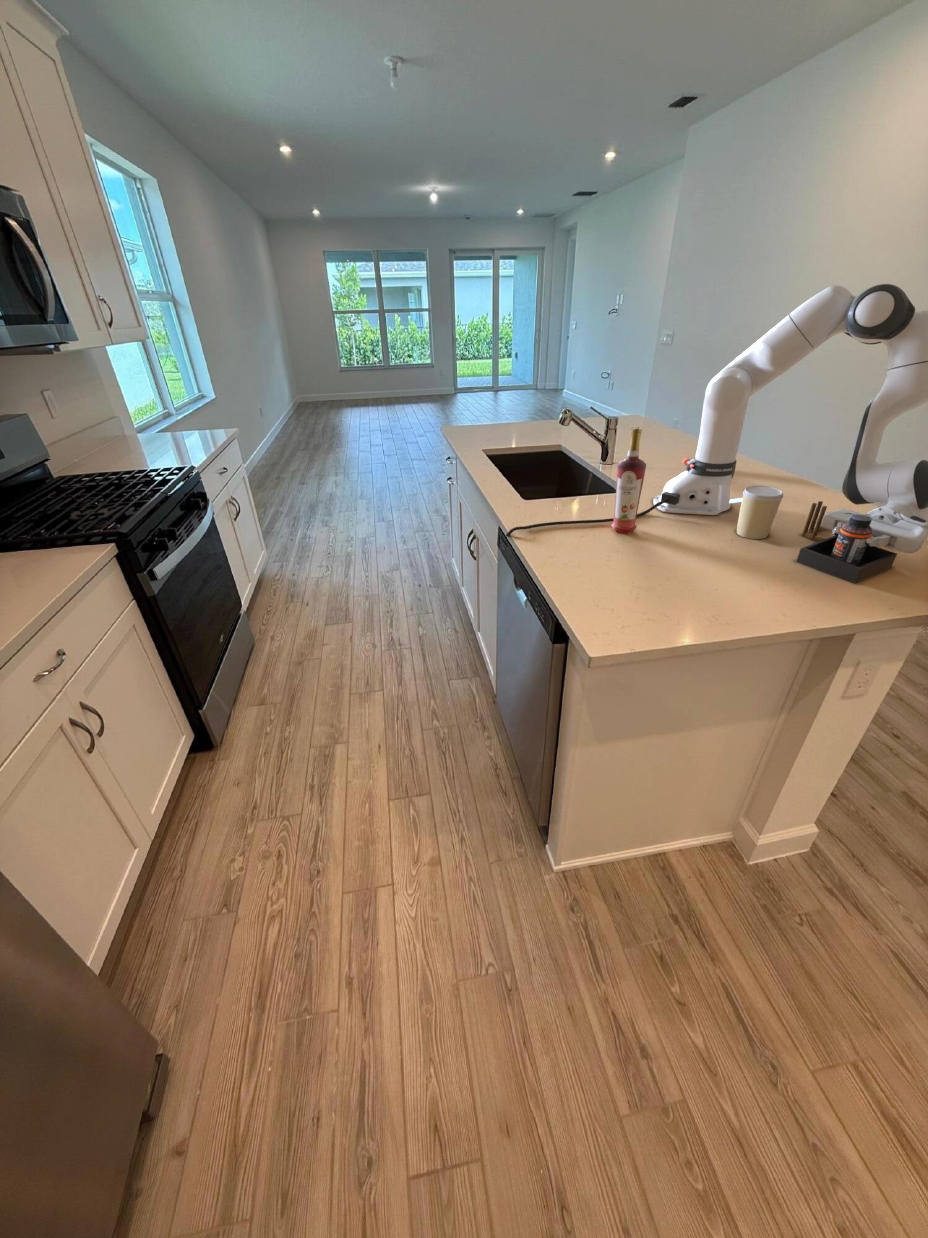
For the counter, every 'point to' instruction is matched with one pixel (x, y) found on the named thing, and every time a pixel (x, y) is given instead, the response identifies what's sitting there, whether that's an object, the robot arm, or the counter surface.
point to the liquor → (629, 486)
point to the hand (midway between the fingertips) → (852, 537)
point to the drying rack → (814, 522)
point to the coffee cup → (758, 511)
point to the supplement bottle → (852, 539)
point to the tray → (822, 560)
